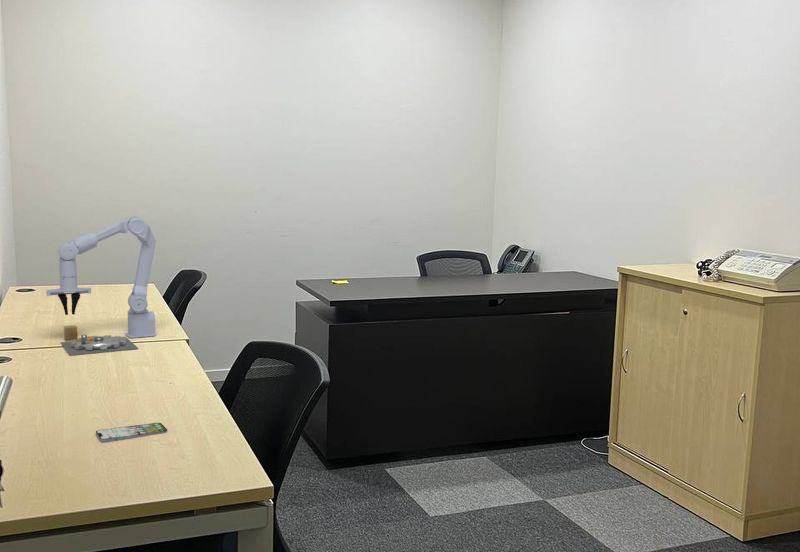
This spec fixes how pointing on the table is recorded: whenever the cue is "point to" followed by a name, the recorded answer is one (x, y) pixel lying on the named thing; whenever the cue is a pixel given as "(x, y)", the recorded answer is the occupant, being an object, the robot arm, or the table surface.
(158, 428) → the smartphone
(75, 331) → the brushed gold block
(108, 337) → the sprocket
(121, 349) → the plate
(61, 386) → the table surface
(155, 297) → the table surface
